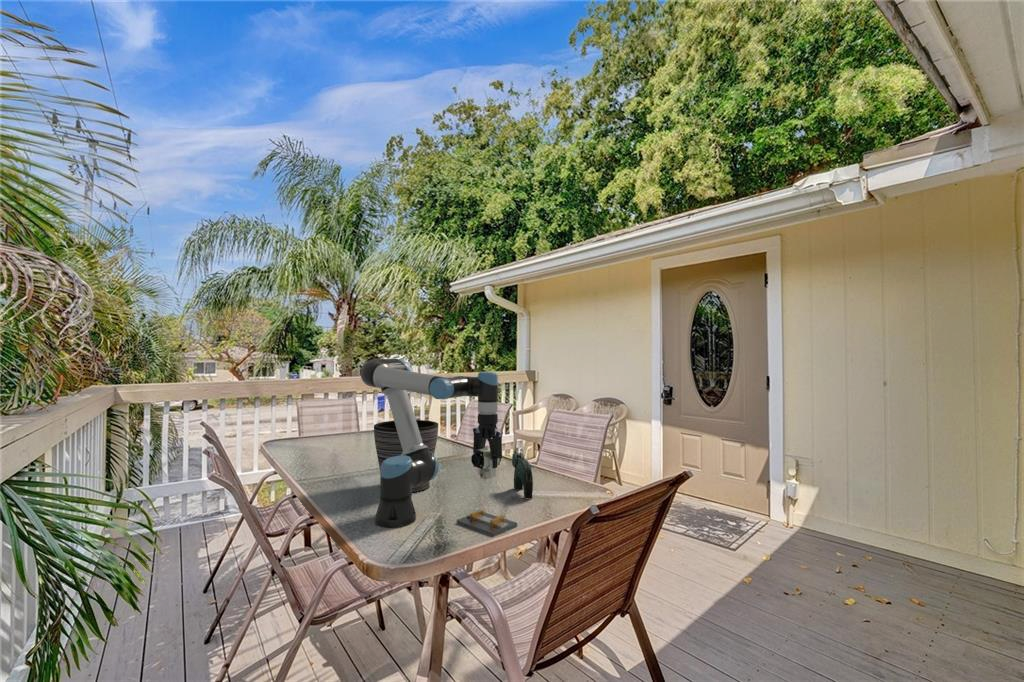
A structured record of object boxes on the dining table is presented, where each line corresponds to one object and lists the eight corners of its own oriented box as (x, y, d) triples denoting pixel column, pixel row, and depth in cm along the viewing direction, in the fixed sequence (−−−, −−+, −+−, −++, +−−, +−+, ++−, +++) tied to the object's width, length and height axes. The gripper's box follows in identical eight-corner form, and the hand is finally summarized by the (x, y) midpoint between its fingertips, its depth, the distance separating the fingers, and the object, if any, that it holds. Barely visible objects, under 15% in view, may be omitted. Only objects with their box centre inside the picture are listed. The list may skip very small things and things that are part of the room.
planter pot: (370, 499, 202) (371, 430, 203) (374, 480, 231) (375, 420, 232) (440, 494, 209) (440, 428, 210) (435, 477, 238) (436, 419, 239)
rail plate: (493, 536, 162) (493, 526, 162) (456, 523, 174) (456, 513, 174) (517, 526, 171) (517, 516, 172) (480, 514, 184) (480, 505, 184)
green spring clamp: (510, 487, 221) (510, 445, 222) (523, 486, 223) (523, 444, 224) (523, 500, 202) (523, 454, 203) (537, 498, 204) (537, 453, 205)
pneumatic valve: (470, 479, 171) (470, 447, 171) (493, 474, 179) (494, 443, 180) (480, 483, 167) (480, 449, 167) (503, 477, 175) (504, 445, 176)
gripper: (512, 414, 171) (512, 477, 170) (477, 410, 183) (476, 469, 182) (499, 416, 165) (498, 481, 164) (463, 411, 177) (463, 472, 176)
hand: (487, 475), depth 173 cm, fingers closed on pneumatic valve, 5 cm apart
